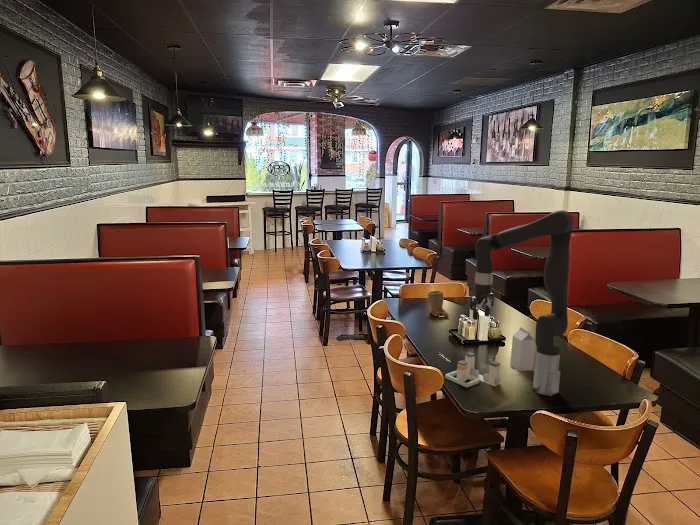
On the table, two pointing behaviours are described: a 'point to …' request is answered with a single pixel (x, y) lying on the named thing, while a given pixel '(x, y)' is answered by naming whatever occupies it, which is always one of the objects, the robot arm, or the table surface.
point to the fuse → (462, 370)
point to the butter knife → (444, 357)
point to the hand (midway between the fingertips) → (481, 317)
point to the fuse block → (492, 373)
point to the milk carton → (522, 350)
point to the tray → (473, 381)
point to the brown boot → (437, 303)
